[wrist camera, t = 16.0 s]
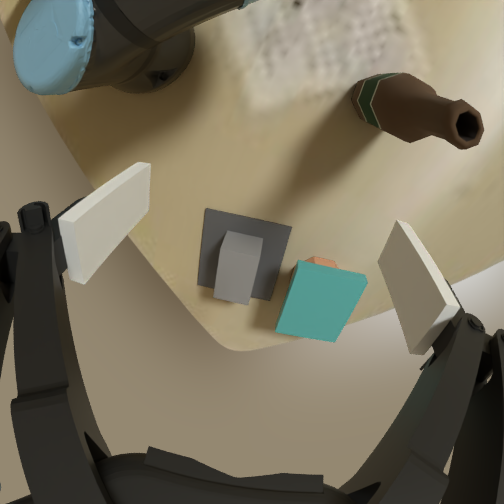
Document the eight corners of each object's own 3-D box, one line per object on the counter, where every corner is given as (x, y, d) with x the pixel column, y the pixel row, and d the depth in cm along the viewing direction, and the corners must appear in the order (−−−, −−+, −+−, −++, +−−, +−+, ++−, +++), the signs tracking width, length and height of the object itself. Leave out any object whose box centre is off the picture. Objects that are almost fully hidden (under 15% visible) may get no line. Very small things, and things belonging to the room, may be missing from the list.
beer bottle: (351, 125, 37) (419, 176, 17) (348, 72, 33) (421, 63, 13) (400, 127, 36) (499, 182, 16) (399, 76, 32) (506, 85, 11)
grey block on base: (198, 283, 55) (189, 304, 50) (206, 208, 47) (196, 225, 42) (269, 299, 56) (267, 322, 50) (291, 226, 47) (291, 246, 42)
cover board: (275, 323, 50) (275, 332, 49) (297, 259, 43) (298, 267, 41) (333, 334, 51) (334, 342, 49) (365, 274, 43) (367, 282, 41)
